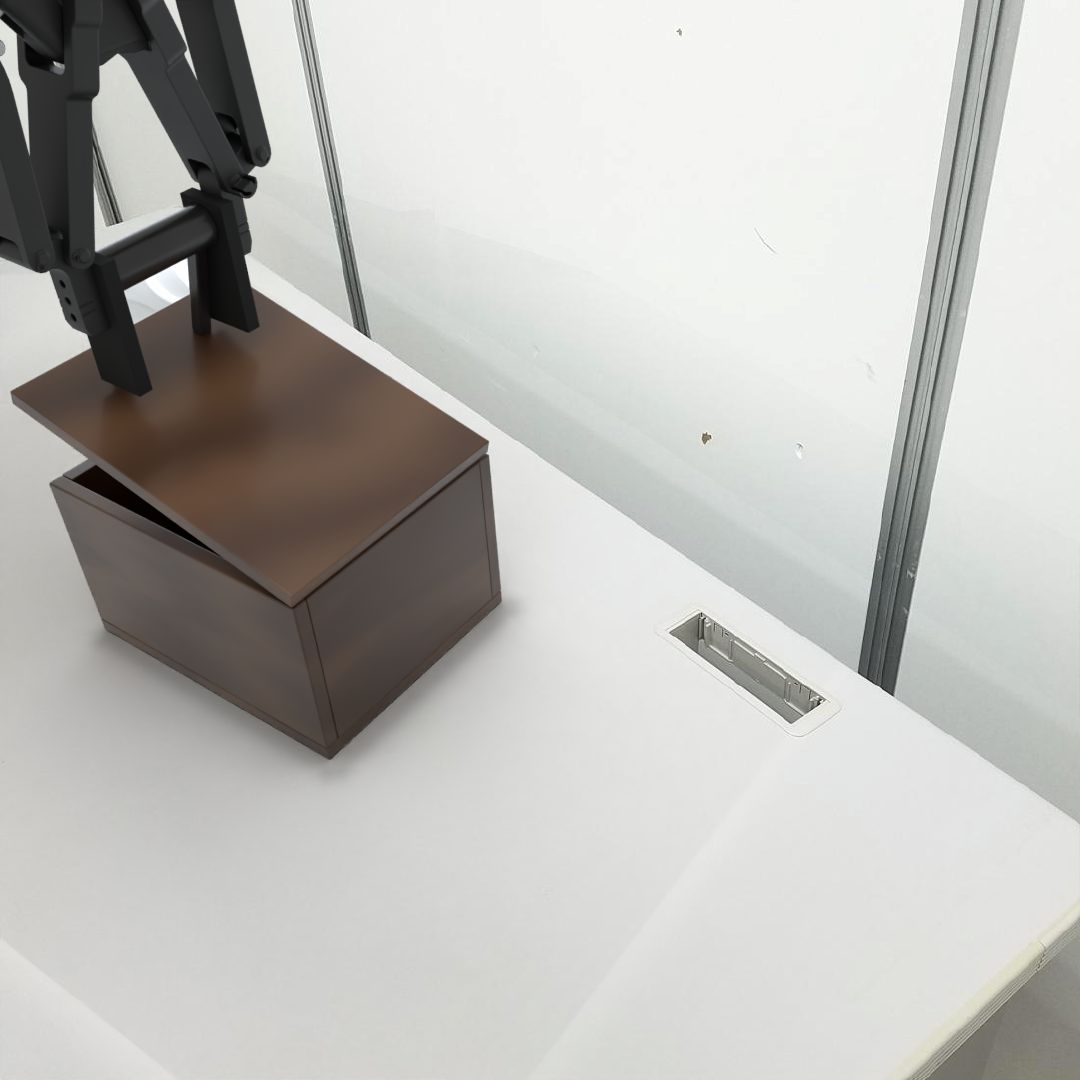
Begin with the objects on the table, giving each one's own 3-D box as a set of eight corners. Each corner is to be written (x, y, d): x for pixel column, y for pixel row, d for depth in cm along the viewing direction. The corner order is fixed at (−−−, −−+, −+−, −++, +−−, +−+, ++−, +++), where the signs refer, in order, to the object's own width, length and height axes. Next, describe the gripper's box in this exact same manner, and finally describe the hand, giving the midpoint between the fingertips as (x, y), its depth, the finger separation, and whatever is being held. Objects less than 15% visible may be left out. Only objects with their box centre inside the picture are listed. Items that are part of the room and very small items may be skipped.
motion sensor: (234, 367, 86) (210, 265, 81) (123, 378, 86) (91, 275, 81) (242, 311, 92) (219, 213, 87) (137, 320, 92) (108, 222, 87)
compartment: (104, 628, 67) (47, 482, 60) (285, 499, 75) (252, 358, 69) (329, 760, 60) (293, 610, 53) (502, 600, 68) (489, 454, 61)
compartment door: (12, 403, 58) (-19, 264, 52) (229, 284, 66) (224, 152, 60) (291, 608, 53) (292, 481, 47) (487, 452, 61) (509, 327, 56)
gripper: (-161, -151, 37) (70, 478, 52) (297, -248, 48) (375, 291, 64) (-292, -178, 40) (-39, 422, 55) (166, -262, 51) (270, 254, 67)
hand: (182, 351), depth 59 cm, fingers closed on compartment door, 6 cm apart
